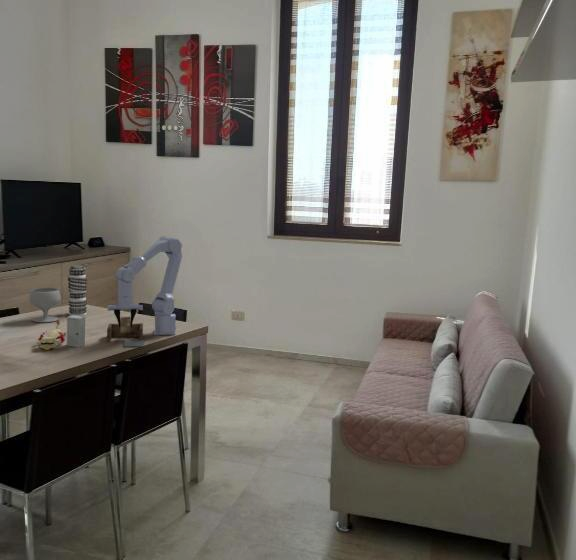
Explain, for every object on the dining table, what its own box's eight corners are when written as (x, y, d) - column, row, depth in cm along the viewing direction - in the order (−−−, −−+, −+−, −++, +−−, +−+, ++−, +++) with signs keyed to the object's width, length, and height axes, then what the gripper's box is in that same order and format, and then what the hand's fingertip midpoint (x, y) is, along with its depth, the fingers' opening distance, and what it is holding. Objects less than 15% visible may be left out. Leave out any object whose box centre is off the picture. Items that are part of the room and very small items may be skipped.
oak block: (130, 330, 241) (130, 316, 240) (130, 332, 237) (130, 318, 236) (120, 330, 240) (120, 316, 239) (120, 332, 236) (120, 318, 235)
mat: (144, 342, 236) (144, 340, 236) (143, 347, 229) (143, 345, 229) (124, 342, 234) (124, 341, 234) (123, 347, 227) (123, 346, 227)
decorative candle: (64, 315, 278) (63, 266, 274) (74, 311, 287) (73, 264, 284) (81, 316, 277) (80, 267, 273) (90, 313, 286) (90, 265, 282)
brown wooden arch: (142, 335, 247) (142, 323, 246) (142, 341, 237) (142, 329, 236) (109, 335, 243) (109, 323, 243) (107, 342, 234) (107, 329, 233)
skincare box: (66, 345, 226) (65, 316, 224) (73, 343, 230) (73, 314, 228) (78, 347, 224) (78, 318, 222) (86, 344, 228) (85, 316, 226)
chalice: (43, 325, 257) (43, 293, 255) (23, 321, 263) (22, 290, 261) (67, 319, 270) (67, 289, 268) (47, 315, 276) (46, 286, 274)
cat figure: (46, 338, 240) (32, 350, 216) (46, 318, 239) (32, 328, 215) (70, 338, 242) (59, 349, 218) (70, 318, 241) (59, 328, 217)
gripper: (142, 293, 242) (142, 323, 244) (107, 294, 238) (108, 324, 240) (142, 296, 235) (142, 327, 237) (107, 297, 231) (107, 328, 234)
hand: (125, 326), depth 238 cm, fingers closed on oak block, 4 cm apart
